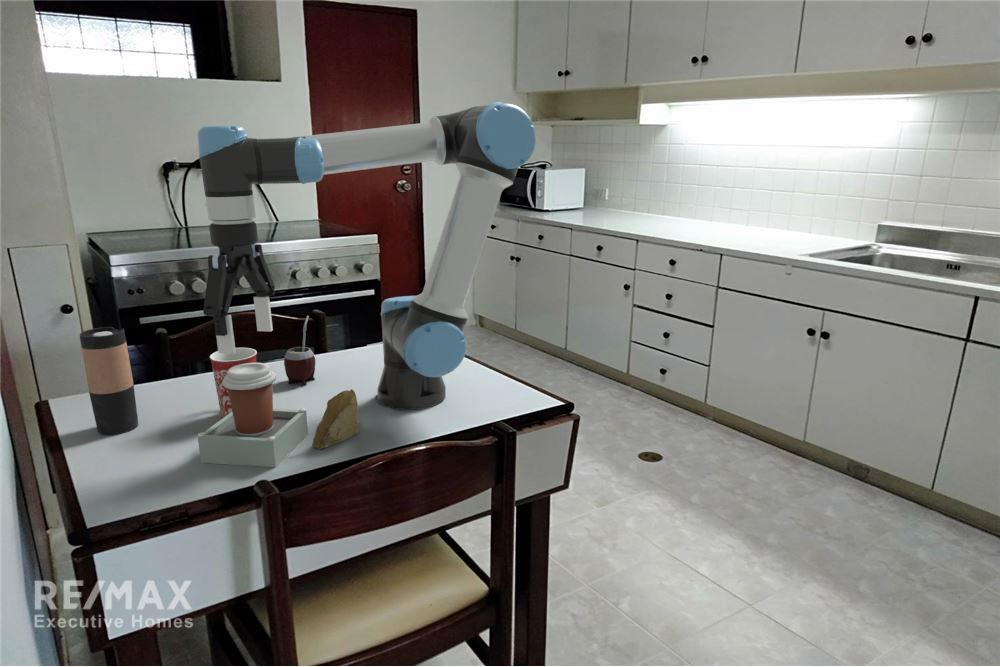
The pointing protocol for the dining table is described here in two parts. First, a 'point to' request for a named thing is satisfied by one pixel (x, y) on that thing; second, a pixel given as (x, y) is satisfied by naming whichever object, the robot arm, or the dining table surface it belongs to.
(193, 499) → the dining table surface
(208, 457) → the pale green square tray
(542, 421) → the dining table surface
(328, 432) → the rock
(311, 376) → the mate gourd
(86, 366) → the travel mug
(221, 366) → the mug
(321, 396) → the dining table surface
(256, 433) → the coffee cup
